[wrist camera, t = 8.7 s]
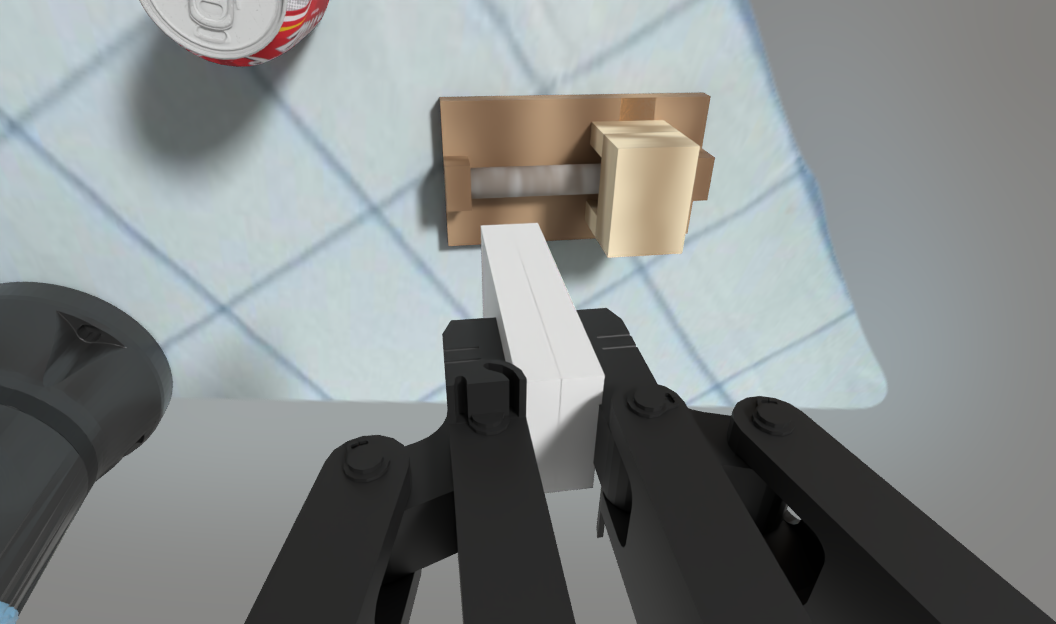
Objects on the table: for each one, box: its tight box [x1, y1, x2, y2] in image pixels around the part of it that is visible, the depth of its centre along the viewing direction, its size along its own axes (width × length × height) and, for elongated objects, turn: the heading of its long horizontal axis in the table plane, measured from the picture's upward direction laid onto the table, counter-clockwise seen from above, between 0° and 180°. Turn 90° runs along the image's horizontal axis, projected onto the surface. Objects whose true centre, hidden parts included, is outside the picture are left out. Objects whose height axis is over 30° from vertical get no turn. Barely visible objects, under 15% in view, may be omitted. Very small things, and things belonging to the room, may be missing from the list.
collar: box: [585, 120, 700, 258], centre depth 39 cm, size 5×7×6 cm
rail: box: [440, 93, 715, 246], centre depth 41 cm, size 18×10×4 cm, turn 88°
